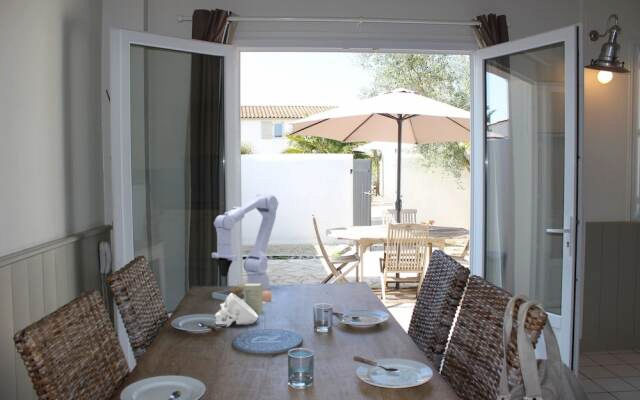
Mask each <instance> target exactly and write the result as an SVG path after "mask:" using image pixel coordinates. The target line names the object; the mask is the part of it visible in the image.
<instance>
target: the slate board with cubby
mask: <svg viewBox="0 0 640 400" xmlns="http://www.w3.org/2000/svg"><path fill="white" fill-rule="evenodd" d="M228 290H229V289H225V290H219V291H214V292H212V293H211V297H212V298H213V299H217V300H221V301H224V302H225V301H226V298H227V297H228ZM242 300H243V301H244V293H242ZM277 301H278V299H273V298H271V302H263V301H262V303H263V305H264V304H269V303H272V302H277Z"/></svg>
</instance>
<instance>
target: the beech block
mask: <svg viewBox="0 0 640 400" xmlns="http://www.w3.org/2000/svg"><path fill="white" fill-rule="evenodd" d="M244 285H245V284H237V285H234V289H235V288H236V289H241V290H242V293H244Z"/></svg>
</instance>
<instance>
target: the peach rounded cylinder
mask: <svg viewBox="0 0 640 400" xmlns="http://www.w3.org/2000/svg"><path fill="white" fill-rule="evenodd" d="M271 299H272V290H270V289H269V290H264V291H262V301H263V302H269V303H272V302H271Z"/></svg>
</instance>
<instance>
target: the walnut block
mask: <svg viewBox="0 0 640 400" xmlns="http://www.w3.org/2000/svg"><path fill="white" fill-rule="evenodd" d="M227 290H228V296H229V294H230V293H233V294H235V295H236V296H237V297H239V298H240V299H241V300H242V290H241V289H236V288H235V287H234V288H231V289H227Z"/></svg>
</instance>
